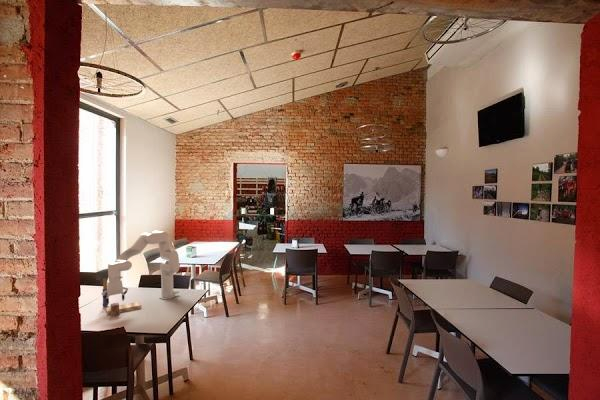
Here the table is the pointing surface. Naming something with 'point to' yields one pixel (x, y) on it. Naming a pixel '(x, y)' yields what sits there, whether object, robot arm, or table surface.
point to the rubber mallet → (103, 275)
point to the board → (125, 307)
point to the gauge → (114, 309)
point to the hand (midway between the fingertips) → (115, 301)
